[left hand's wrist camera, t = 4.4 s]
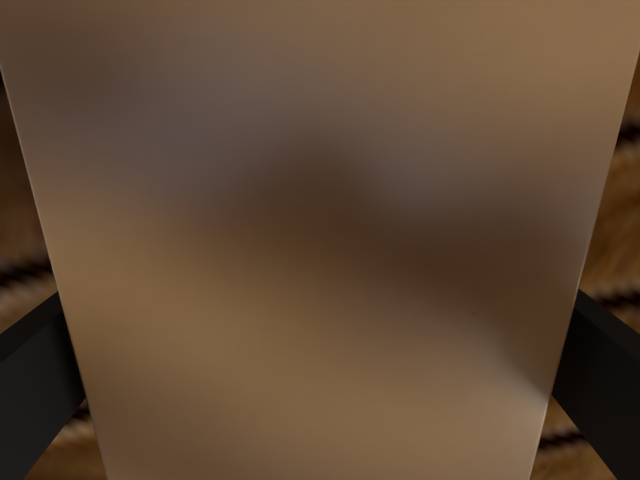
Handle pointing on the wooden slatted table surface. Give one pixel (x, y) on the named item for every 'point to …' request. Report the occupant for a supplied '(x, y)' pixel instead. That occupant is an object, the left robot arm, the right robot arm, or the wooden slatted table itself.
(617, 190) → the wooden slatted table surface
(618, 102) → the cabinet
